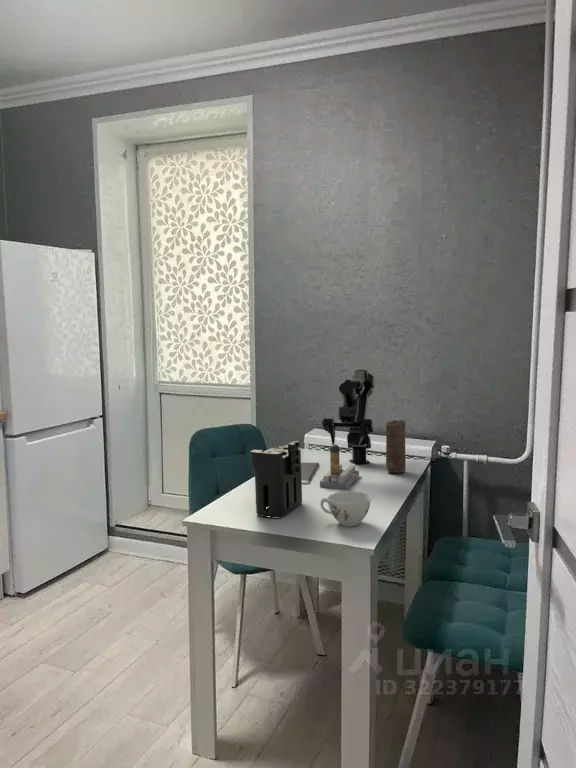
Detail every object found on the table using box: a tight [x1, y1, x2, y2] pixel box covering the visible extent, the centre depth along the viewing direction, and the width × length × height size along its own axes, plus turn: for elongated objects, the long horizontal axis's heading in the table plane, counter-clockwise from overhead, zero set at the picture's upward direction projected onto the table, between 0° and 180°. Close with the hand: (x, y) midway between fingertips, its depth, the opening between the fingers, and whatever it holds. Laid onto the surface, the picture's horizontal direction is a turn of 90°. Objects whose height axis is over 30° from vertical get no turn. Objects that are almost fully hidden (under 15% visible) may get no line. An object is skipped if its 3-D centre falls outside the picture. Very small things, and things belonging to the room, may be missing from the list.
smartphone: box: [301, 461, 320, 485], centre depth 225 cm, size 13×27×2 cm, turn 169°
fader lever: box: [329, 444, 341, 482], centre depth 206 cm, size 4×4×13 cm
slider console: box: [319, 463, 360, 490], centre depth 212 cm, size 17×10×4 cm, turn 159°
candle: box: [385, 419, 406, 474], centre depth 221 cm, size 8×7×20 cm
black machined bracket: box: [250, 440, 303, 518], centre depth 183 cm, size 12×21×22 cm, turn 154°
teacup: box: [320, 490, 372, 527], centre depth 170 cm, size 15×12×8 cm
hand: (345, 445), depth 212 cm, fingers open, 9 cm apart
